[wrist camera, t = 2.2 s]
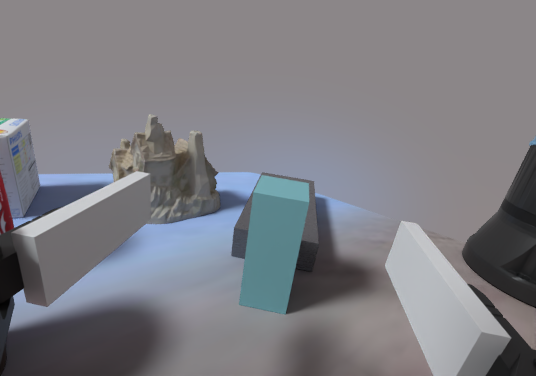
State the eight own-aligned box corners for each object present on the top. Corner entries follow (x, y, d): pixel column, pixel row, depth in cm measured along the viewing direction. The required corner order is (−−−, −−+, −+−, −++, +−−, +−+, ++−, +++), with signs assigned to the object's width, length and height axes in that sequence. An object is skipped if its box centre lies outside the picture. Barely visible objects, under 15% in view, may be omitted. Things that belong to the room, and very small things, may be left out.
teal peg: (288, 282, 31) (308, 183, 26) (285, 314, 26) (309, 202, 22) (248, 274, 31) (261, 175, 26) (239, 304, 27) (253, 192, 22)
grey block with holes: (259, 191, 54) (262, 172, 53) (309, 200, 53) (313, 181, 52) (231, 255, 34) (234, 227, 32) (312, 271, 33) (318, 243, 31)
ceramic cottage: (231, 212, 44) (233, 116, 39) (115, 235, 35) (99, 116, 30) (197, 183, 56) (195, 107, 51) (105, 194, 47) (92, 104, 42)
